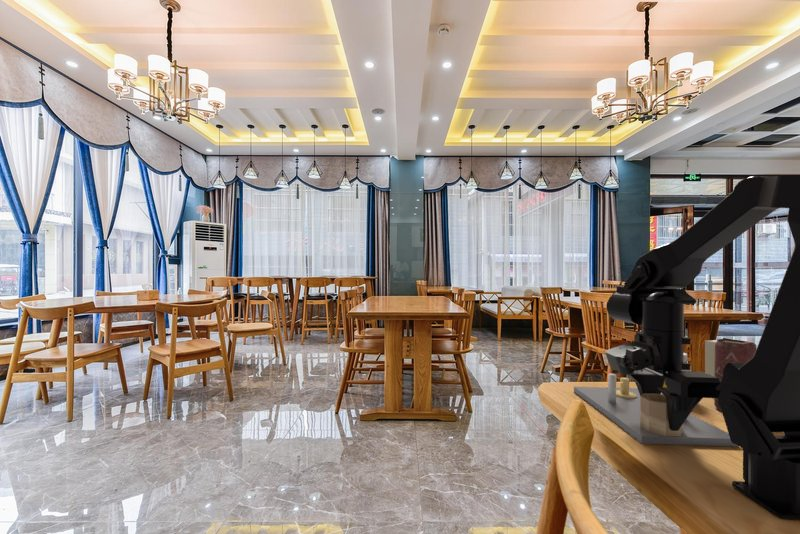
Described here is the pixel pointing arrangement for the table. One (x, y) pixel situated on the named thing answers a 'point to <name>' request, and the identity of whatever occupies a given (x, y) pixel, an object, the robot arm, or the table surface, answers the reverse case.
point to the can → (731, 356)
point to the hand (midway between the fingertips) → (661, 422)
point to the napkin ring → (656, 415)
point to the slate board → (626, 414)
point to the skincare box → (710, 357)
